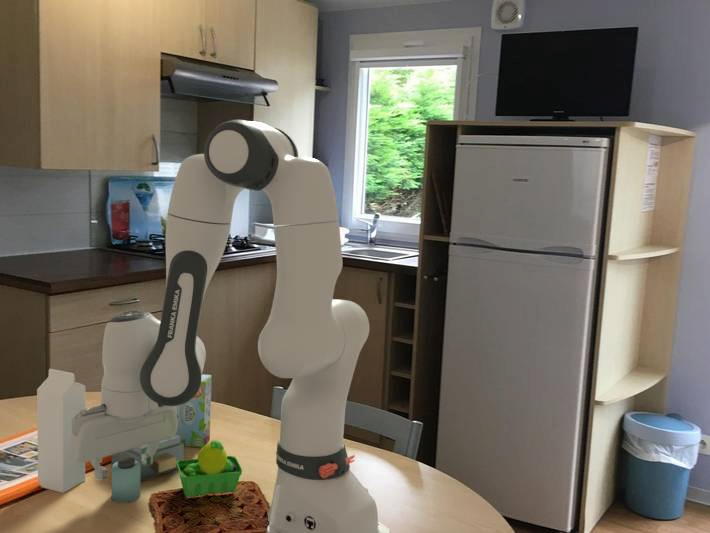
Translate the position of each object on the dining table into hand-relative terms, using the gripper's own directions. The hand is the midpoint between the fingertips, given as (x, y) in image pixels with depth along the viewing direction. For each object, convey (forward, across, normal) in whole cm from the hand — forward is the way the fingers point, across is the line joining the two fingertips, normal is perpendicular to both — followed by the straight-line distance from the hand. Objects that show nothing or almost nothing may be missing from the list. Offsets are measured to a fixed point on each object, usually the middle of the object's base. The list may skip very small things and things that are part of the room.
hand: (124, 470), depth 137 cm
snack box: (+5, +19, +17) cm, 27 cm away
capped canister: (+4, 0, -1) cm, 5 cm away
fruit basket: (+4, +12, -10) cm, 16 cm away
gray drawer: (+5, +10, +7) cm, 13 cm away
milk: (+5, -6, +11) cm, 14 cm away
